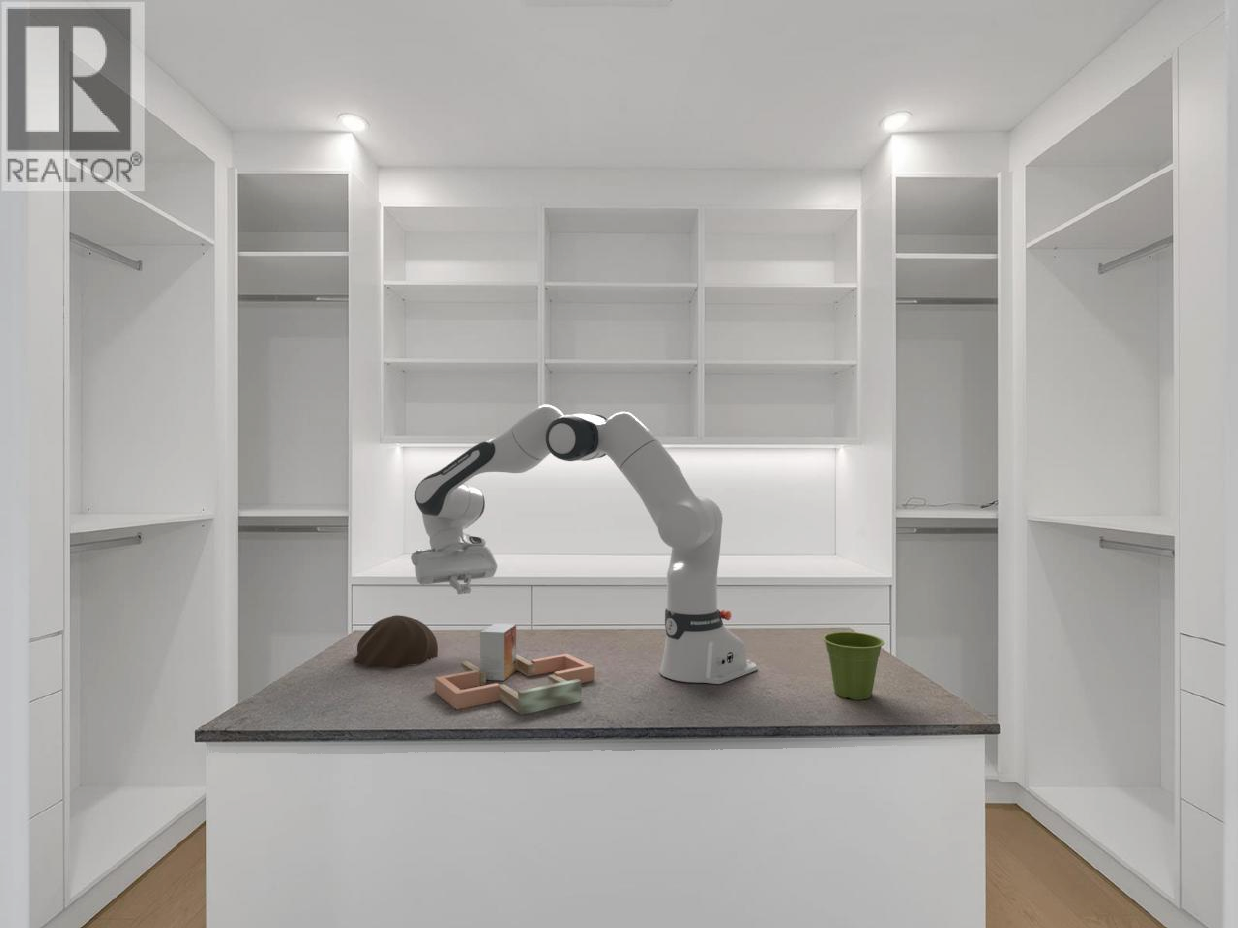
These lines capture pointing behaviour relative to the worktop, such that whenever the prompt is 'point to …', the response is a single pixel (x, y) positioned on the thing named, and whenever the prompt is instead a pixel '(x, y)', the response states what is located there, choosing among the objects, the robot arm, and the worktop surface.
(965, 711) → the worktop surface
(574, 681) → the trap lane
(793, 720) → the worktop surface
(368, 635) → the decorative dome
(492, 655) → the small box
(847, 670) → the plant pot
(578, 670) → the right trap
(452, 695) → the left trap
